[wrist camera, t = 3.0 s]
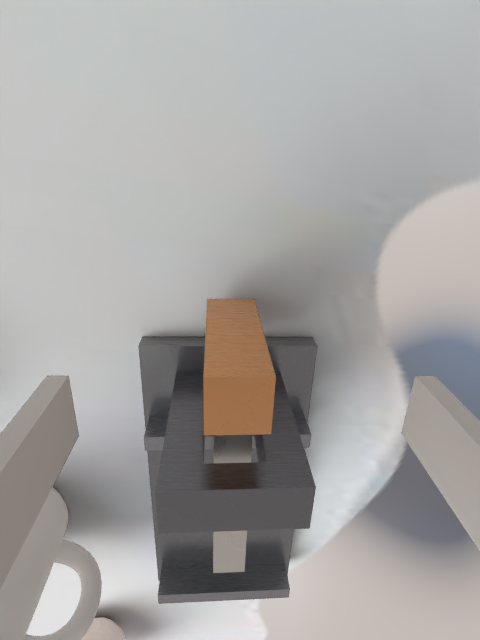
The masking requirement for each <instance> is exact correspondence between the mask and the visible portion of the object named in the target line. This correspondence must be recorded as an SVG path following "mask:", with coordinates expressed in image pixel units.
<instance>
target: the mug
mask: <svg viewBox="0 0 480 640" xmlns="http://www.w3.org/2000/svg"><path fill="white" fill-rule="evenodd" d="M67 524H68V510H67V506H66V504H65V502H64V500H63V498H62V497H61V495H60V494H59V493H58V492H57V491H56V489H54V488H53V487H52V489H51V491H50V493H49V495H48V497H47V499H46V501H45V503H44V505H43V507H42V509H41V511H40V513H39V515H38V517H37V519H36V520H35V522H34V524H33V526H32V528H31V530H30V532H29V534H28V536H27V538H26V540H25V542H24V544H23V546H22V548H21V550H20V552H19V554H18V556H17V558H16V560H15V562H14V564H13V565H12V567H11V569H10V571H9V573H8V575H7V577H6V579H5V581H4V583H3V585H2V587H1V589H0V640H82V638H83V637H84V636H85V634H86V633H87V631H88V630H89V628H90V626H91V624H92V622H93V620H94V618H95V616H96V613H97V610H98V606H99V603H100V597H101V584H102V582H101V573H100V570H99V567H98V564H97V562H96V560H95V558H94V557H93V556H92V555H91V553H90V552H88V551H87V550H86V549H85V548H83V547H82V546H80V545H78V544H76V543H74V542H71V541H68V540H65V539H63V537H64V535H65V532H66V528H67ZM54 562H55V563H61V564H64V565H67V566H69V567H71V568H73V569H74V570H75V571H76V572H77V573H78V575H79V577H80V581H81V596H80V600H79V603H78V606H77V608H76V610H75V612H74V614H73V616H72V617H71V619H70V620H69V621H68V623H67V624H66V625H65V626H63V627H62V628H61V629H60V630H58V631H56V632H55V633H52V634H50V635H45V636H32V635H27V634H26V632H27V629H28V627H29V625H30V622H31V620H32V617H33V615H34V612H35V610H36V607H37V604H38V602H39V599H40V597H41V594H42V592H43V589H44V587H45V584H46V582H47V579H48V576H49V574H50V571H51V569H52V566H53V563H54Z"/></svg>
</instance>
